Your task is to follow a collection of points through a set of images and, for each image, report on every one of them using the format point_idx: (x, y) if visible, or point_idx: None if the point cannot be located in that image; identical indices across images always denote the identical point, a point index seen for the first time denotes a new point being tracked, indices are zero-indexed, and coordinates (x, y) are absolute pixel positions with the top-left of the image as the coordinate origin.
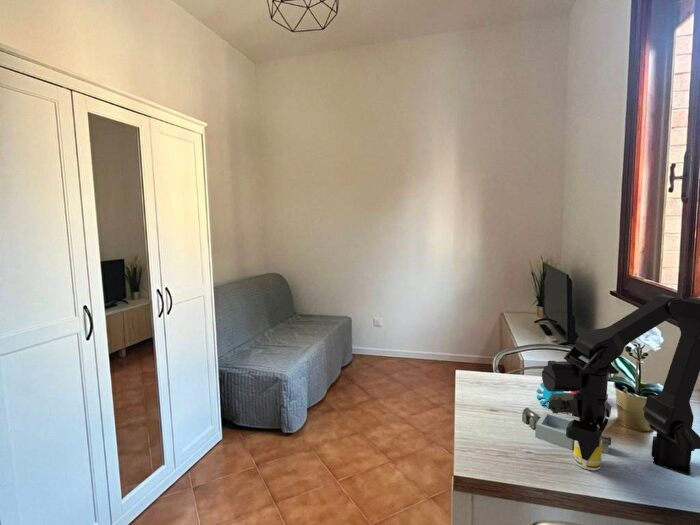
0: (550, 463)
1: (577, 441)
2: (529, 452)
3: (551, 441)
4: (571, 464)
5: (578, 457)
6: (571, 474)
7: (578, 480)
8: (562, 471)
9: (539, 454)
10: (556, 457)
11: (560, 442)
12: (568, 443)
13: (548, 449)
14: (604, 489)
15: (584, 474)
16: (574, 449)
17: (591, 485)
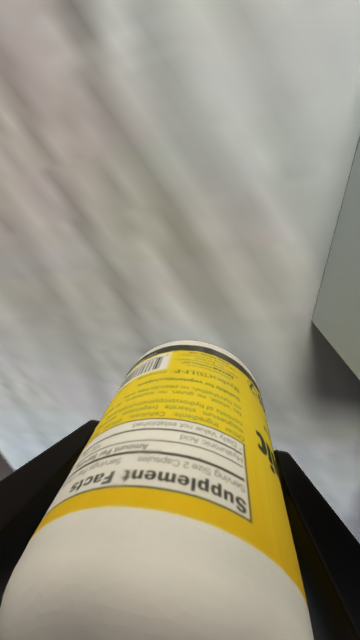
0: (53, 216)
1: (65, 486)
2: (76, 21)
3: (356, 163)
4: (131, 328)
5: (117, 391)
6: (39, 334)
7: (18, 364)
8: (29, 291)
9: (105, 115)
10: (149, 240)
11: (343, 245)
12: (332, 311)
13: (223, 166)
14: (40, 448)
15: (86, 386)
16: (147, 385)
17: (26, 409)
